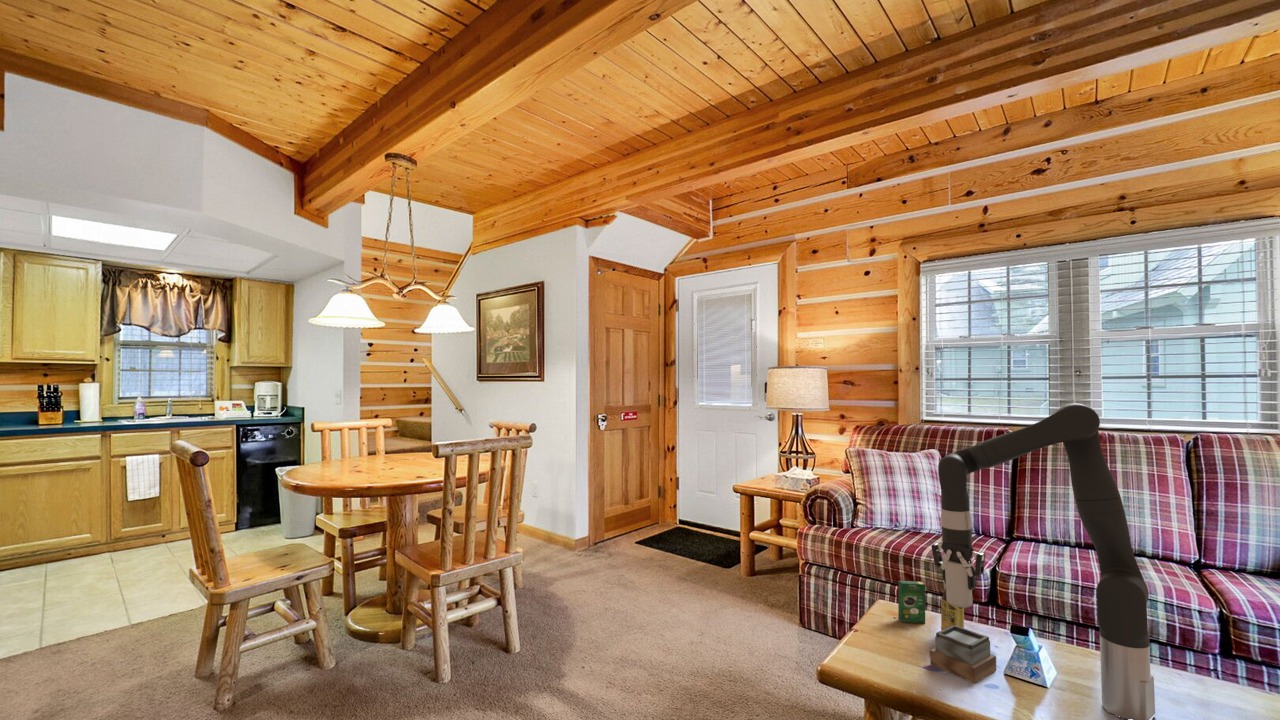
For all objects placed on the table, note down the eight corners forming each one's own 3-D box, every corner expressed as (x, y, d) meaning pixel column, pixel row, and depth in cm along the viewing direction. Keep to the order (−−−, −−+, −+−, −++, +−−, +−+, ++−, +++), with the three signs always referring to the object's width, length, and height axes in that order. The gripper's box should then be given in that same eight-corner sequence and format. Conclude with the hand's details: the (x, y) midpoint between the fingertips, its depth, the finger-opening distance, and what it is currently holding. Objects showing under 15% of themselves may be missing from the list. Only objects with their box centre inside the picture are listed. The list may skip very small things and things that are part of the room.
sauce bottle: (936, 635, 178) (935, 571, 179) (952, 632, 180) (950, 569, 181) (953, 644, 172) (952, 578, 173) (969, 641, 174) (968, 576, 174)
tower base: (996, 670, 156) (995, 637, 156) (974, 683, 150) (973, 649, 150) (952, 653, 166) (951, 622, 166) (930, 664, 160) (929, 632, 160)
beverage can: (976, 609, 154) (974, 564, 155) (951, 608, 156) (949, 563, 156) (967, 600, 161) (965, 558, 161) (943, 599, 162) (941, 557, 163)
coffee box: (922, 620, 189) (922, 580, 190) (926, 623, 186) (925, 583, 187) (898, 619, 190) (897, 579, 190) (901, 622, 187) (900, 583, 187)
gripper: (989, 528, 155) (993, 590, 155) (937, 519, 167) (940, 576, 166) (976, 532, 151) (980, 596, 150) (924, 522, 163) (927, 581, 162)
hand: (959, 585), depth 158 cm, fingers closed on beverage can, 6 cm apart
